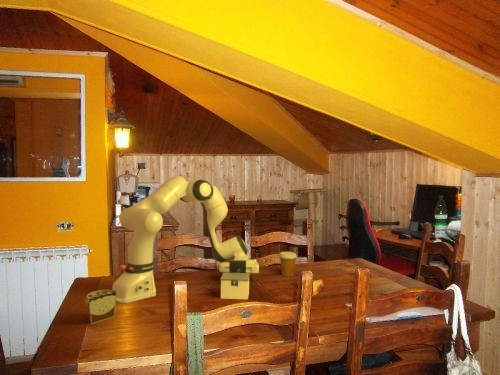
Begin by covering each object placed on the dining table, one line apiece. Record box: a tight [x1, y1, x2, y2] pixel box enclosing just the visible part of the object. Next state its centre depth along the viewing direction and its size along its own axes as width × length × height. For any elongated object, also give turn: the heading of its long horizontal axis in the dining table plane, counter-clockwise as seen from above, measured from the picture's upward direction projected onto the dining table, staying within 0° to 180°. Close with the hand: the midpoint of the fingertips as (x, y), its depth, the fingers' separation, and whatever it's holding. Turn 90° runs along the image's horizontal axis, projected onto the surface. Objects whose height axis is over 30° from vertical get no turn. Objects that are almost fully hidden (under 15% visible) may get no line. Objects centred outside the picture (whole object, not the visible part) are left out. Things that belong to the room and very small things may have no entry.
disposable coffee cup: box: [279, 251, 297, 278], centre depth 212 cm, size 10×10×12 cm
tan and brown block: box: [84, 289, 118, 325], centre depth 148 cm, size 12×6×10 cm, turn 141°
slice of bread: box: [311, 279, 324, 297], centre depth 189 cm, size 18×18×4 cm
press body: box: [220, 272, 251, 300], centre depth 177 cm, size 10×12×9 cm
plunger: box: [228, 259, 246, 285], centre depth 182 cm, size 17×8×11 cm, turn 177°
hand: (237, 271), depth 191 cm, fingers closed
